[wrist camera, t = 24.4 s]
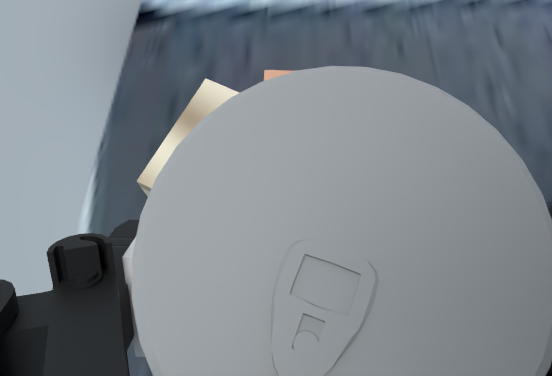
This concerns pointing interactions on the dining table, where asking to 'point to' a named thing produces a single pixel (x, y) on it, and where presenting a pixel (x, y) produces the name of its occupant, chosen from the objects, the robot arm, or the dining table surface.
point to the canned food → (344, 238)
